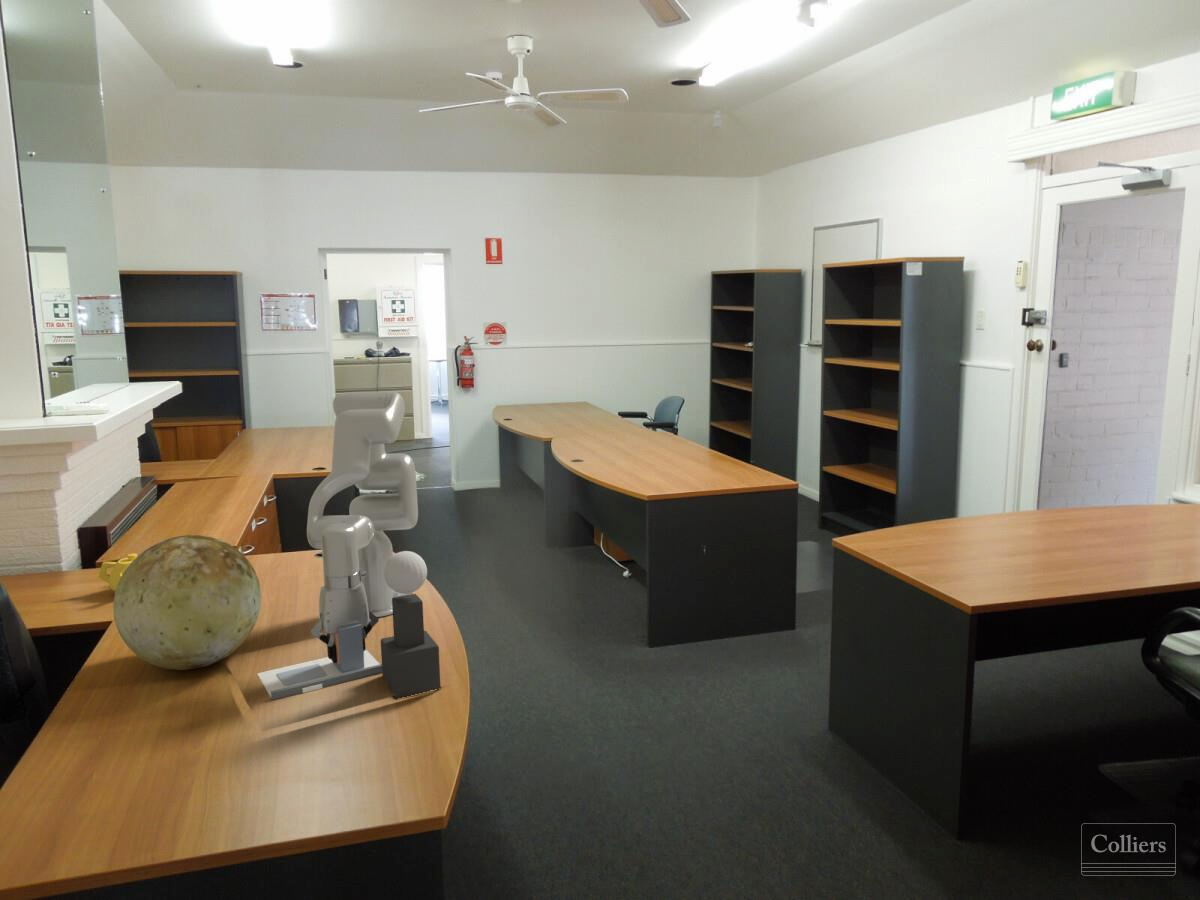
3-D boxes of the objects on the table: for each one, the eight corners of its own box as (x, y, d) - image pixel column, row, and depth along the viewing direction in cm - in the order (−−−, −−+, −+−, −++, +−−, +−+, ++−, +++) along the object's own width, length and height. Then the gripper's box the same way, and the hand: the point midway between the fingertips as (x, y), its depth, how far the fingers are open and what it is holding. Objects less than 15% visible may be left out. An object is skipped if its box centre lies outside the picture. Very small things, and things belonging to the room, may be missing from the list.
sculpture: (393, 701, 174) (386, 562, 169) (382, 681, 183) (374, 549, 178) (441, 690, 179) (435, 554, 173) (427, 672, 187) (421, 542, 182)
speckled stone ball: (275, 633, 210) (266, 516, 205) (253, 685, 182) (241, 552, 176) (145, 644, 204) (132, 524, 199) (100, 700, 175) (84, 562, 170)
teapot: (160, 600, 235) (156, 562, 233) (89, 606, 230) (84, 567, 228) (177, 578, 254) (174, 542, 252) (112, 583, 249) (108, 547, 247)
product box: (354, 656, 192) (352, 615, 190) (364, 667, 186) (361, 625, 185) (331, 662, 189) (328, 620, 188) (340, 673, 184) (337, 630, 182)
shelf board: (365, 654, 197) (364, 642, 197) (387, 678, 185) (386, 665, 184) (257, 679, 184) (256, 667, 184) (273, 707, 172) (272, 693, 171)
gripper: (374, 568, 192) (379, 643, 195) (297, 582, 183) (303, 660, 186) (385, 577, 186) (390, 654, 189) (306, 592, 177) (312, 673, 180)
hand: (347, 656), depth 188 cm, fingers closed on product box, 5 cm apart
